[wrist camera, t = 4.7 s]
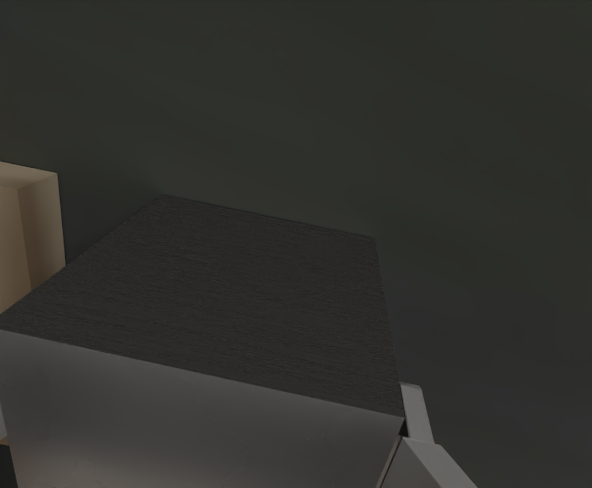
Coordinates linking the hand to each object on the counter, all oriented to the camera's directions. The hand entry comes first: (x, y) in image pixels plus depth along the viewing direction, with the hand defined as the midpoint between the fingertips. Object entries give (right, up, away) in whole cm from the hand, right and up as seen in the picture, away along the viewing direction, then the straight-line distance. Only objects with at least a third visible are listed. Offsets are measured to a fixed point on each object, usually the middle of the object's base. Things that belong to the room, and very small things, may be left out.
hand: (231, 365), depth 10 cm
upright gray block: (0, +1, +2) cm, 3 cm away
